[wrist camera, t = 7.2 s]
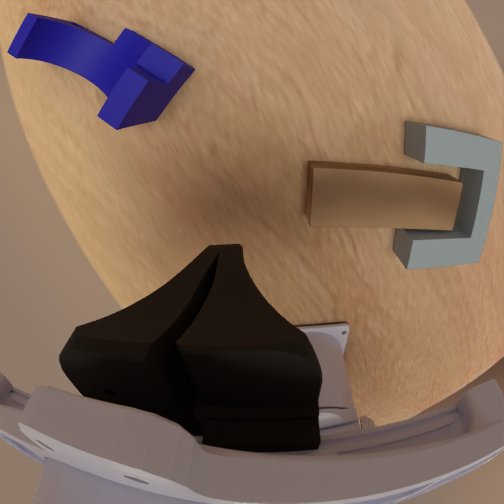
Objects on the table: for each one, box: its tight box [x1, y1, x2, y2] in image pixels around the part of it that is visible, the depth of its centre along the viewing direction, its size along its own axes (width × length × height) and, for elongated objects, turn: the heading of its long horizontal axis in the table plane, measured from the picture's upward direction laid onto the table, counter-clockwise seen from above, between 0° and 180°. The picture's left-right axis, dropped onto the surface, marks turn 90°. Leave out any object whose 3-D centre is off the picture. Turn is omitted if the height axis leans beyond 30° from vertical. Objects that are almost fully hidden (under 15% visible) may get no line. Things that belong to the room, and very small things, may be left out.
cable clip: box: [8, 13, 195, 130], centre depth 12 cm, size 12×4×6 cm, turn 50°
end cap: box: [393, 121, 502, 270], centre depth 17 cm, size 11×8×3 cm
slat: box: [306, 161, 463, 230], centre depth 18 cm, size 4×12×2 cm, turn 91°
